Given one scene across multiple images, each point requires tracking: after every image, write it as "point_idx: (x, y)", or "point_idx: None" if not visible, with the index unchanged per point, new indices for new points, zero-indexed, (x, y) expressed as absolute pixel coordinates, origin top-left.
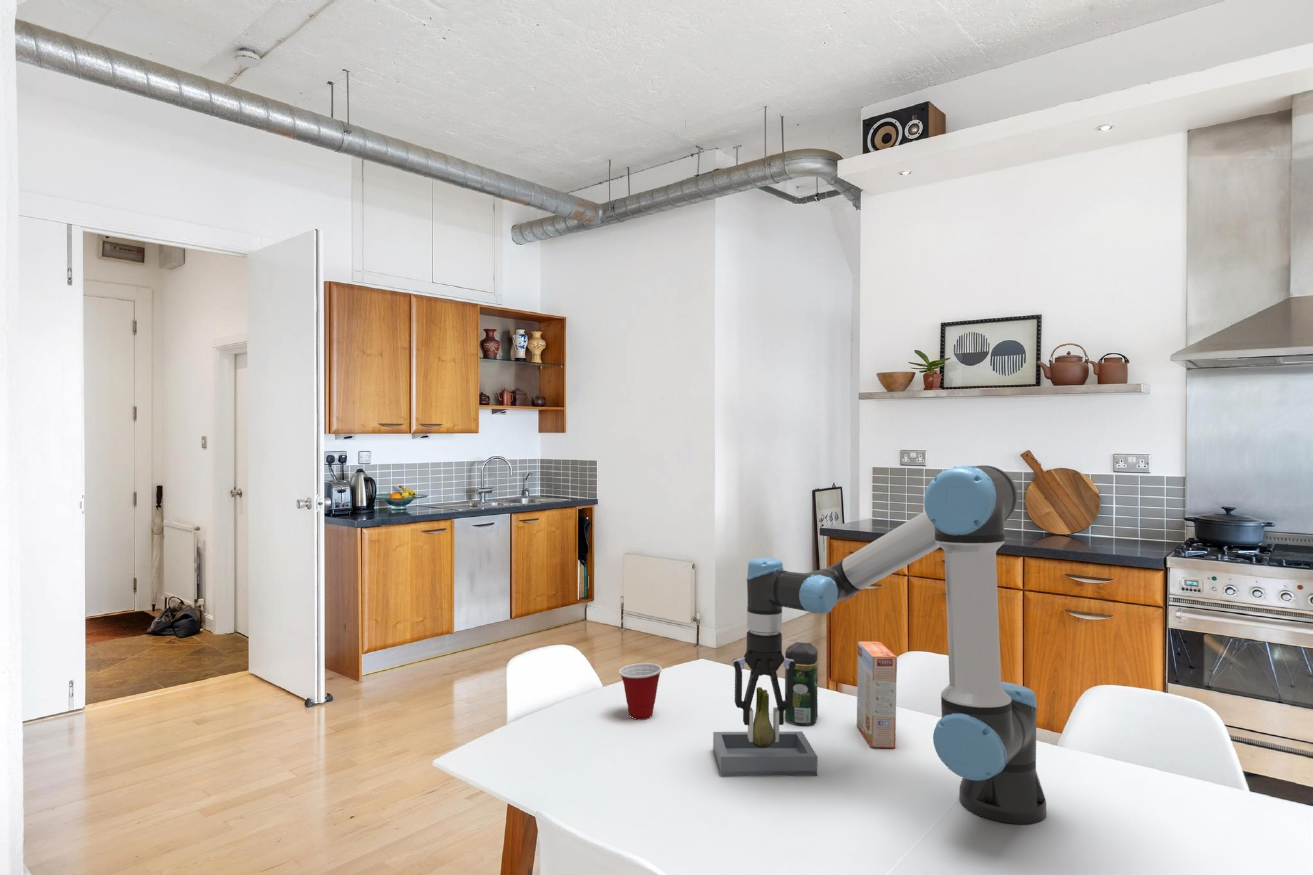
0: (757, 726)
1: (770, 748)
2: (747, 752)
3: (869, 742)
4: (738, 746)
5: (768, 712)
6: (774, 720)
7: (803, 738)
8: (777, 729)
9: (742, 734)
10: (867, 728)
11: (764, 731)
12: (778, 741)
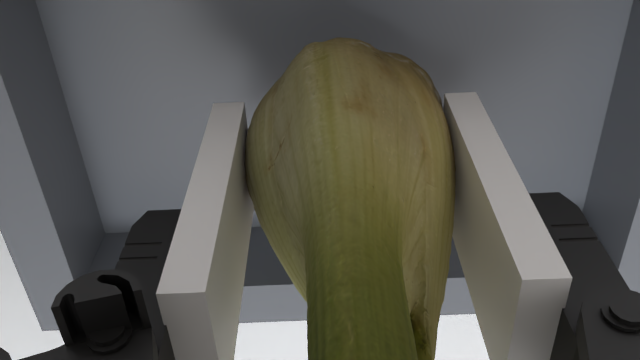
0: (429, 167)
1: None
2: None
3: None
4: None
5: (315, 248)
6: (232, 253)
7: (21, 227)
8: (211, 160)
9: (464, 277)
10: None
11: (363, 86)
12: (216, 105)
